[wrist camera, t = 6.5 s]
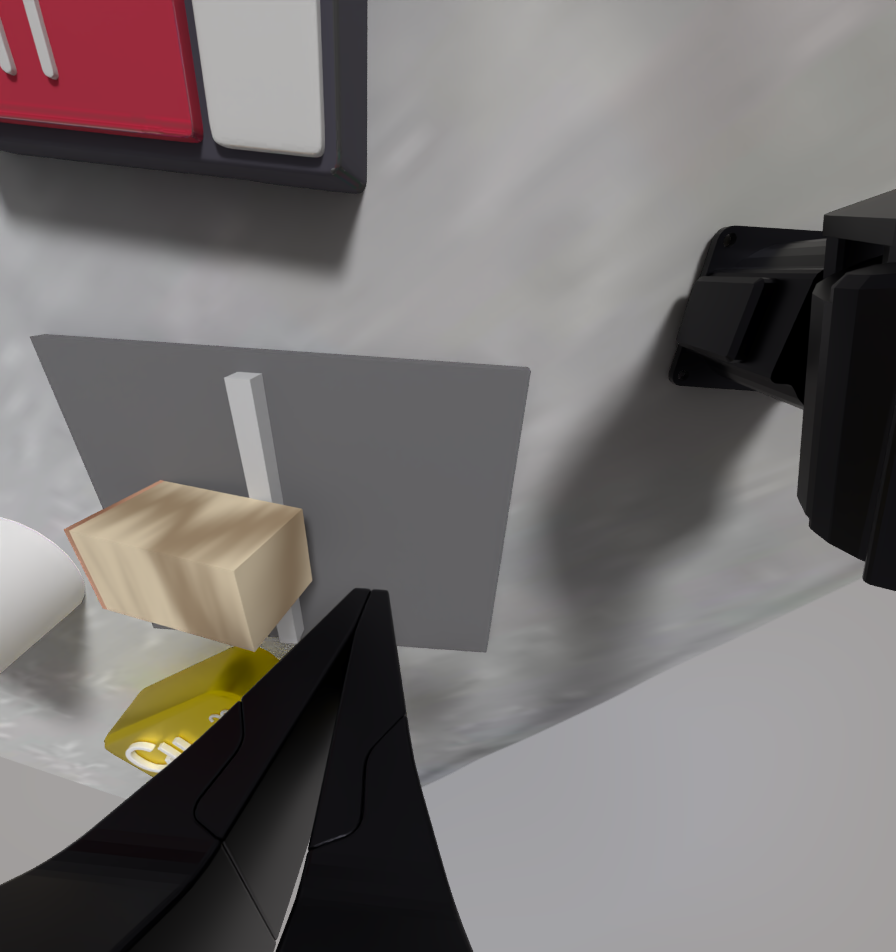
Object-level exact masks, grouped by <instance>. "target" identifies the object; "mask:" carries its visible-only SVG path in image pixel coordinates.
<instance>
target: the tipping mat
mask: <svg viewBox="0 0 896 952" xmlns="http://www.w3.org/2000/svg"><path fill="white" fill-rule="evenodd" d="M30 338H31V341H32V343H33V345H34V348H35V350H36V352H37V355H38V357H39V360H40V362H41V364H42V367H43V369H44V371H45V374H46V376H47V378H48V381H49V383H50V385H51V388H52V390H53V392H54V395H55V397H56V399H57V402H58V404H59V406H60V409H61V411H62V414H63V416H64V418H65V421H66V423H67V425H68V428H69V430H70V432H71V435H72V437H73V439H74V442H75V444H76V446H77V449H78V451H79V453H80V456H81V458H82V460H83V463H84V465H85V468H86V470H87V472H88V475H89V477H90V479H91V482H92V484H93V486H94V489H95V491H96V493H97V496H98V498H99V500H100V503H101V505H102V507H103V509H105V508H107V507H109V506H111V505H113V504H115V503H117V502H118V501H120V500H122V499H124V498H126V497H128V496H130V495H132V494H134V493H136V492H138V491H140V490H142V489H144V488H146V487H148V486H150V485H152V484H154V483H156V482H158V481H160V480H162V481H167V482H172V483H177V484H182V485H187V486H192V487H197V488H202V489H207V490H212V491H217V492H222V493H227V494H232V495H237V496H242V497H247V498H252V499H256V500H261V501H266V502H271V503H276V504H281V505H286V506H291V507H296V508H301V509H302V510H303V517H304V524H305V531H306V538H307V546H308V553H309V560H310V567H311V574H312V582H311V583H310V584H309V585H308V587H307V588H306V589H305V590H304V592H303V593H302V594H301V595H300V597H299V598H298V599H297V600H296V602H295V603H294V604H293V605H292V607H291V608H290V609H289V610H288V611H287V613H286V614H285V615H284V616H283V618H282V619H281V620H280V621H279V623H278V624H277V625H276V626H275V628H274V629H273V630H272V631H271V633H270V634H269V635H268V636H269V637H279V640H280V643H291V644H297V643H298V642H299V640H300V639H302V638H303V637H304V636H305V635H306V634H307V633H308V632H309V631H310V630H311V629H313V628H314V627H315V626H316V625H317V624H318V623H319V622H320V621H321V620H322V619H323V618H324V617H325V616H326V615H327V614H328V613H329V612H330V611H331V610H332V609H333V608H334V607H335V606H336V605H337V604H338V603H339V602H340V601H341V600H342V599H343V598H344V597H345V596H346V595H347V594H348V593H349V592H350V591H352V590H353V589H354V588H368V589H370V590H371V591H372V590H373V589H381V590H387V591H388V592H389V597H390V604H391V610H392V617H393V624H394V631H395V638H396V645H397V646H405V647H418V648H432V649H446V650H459V651H473V652H486V651H487V645H488V639H489V632H490V626H491V620H492V613H493V607H494V601H495V594H496V588H497V582H498V575H499V569H500V563H501V556H502V550H503V544H504V537H505V531H506V525H507V518H508V512H509V506H510V500H511V493H512V487H513V481H514V474H515V468H516V462H517V455H518V449H519V443H520V436H521V430H522V424H523V417H524V411H525V405H526V398H527V392H528V386H529V379H530V373H531V371H530V369H529V368H528V367H516V366H501V365H486V364H472V363H457V362H443V361H428V360H414V359H399V358H384V357H370V356H355V355H341V354H326V353H311V352H297V351H282V350H268V349H253V348H239V347H224V346H209V345H195V344H180V343H166V342H151V341H137V340H122V339H107V338H93V337H78V336H64V335H49V334H44V335H38V336H31V337H30ZM152 625H153V627H154V628H160V629H173V628H170V627H166V626H163V625H159V624H156V623H152ZM173 630H177V629H173Z"/></svg>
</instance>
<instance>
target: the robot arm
mask: <svg viewBox="0 0 896 952" xmlns="http://www.w3.org/2000/svg"><path fill="white" fill-rule="evenodd" d="M728 234H729V235H730V237H731V240H730V243H729V244H728V245H727V246H726V247H725V246H724V244H723V240H724V238H725V236H726V235H728ZM677 342H678V347H677V350H676V353H675V356H674V359H673V362H672V365H671V368H670V371H669V379H670V381H671V382H672V383H674V384H676V385H679V386H691V387H706V388H720V389H735V390H750V391H759V392H761V393H763V394H766V395H768V396H771V397H773V398H776V399H778V400H781V401H783V402H785V403H788V404H790V405H793V406H795V407H798V408H800V409H803V422H802V436H801V449H800V462H799V476H798V489H797V497H798V499H799V502H800V504H801V506H802V508H803V510H804V512H805V514H806V515H807V516H808V517H809V527H810V529H811V530H813V531H814V532H815V533H816V534H818V535H819V536H820V537H821V538H823V539H824V540H825V541H827V542H828V543H829V544H831V545H833V546H835V547H837V548H839V549H841V550H843V551H845V552H846V553H848V554H850V555H852V556H854V557H856V558H858V559H860V560H862V561H865V566H864V571H863V580H864V581H865V582H866V583H868V584H870V585H874V586H877V587H882V588H885V589H889V590H893V591H896V189H894V190H892V191H889V192H886V193H883V194H880V195H877V196H875V197H872V198H869V199H866V200H863V201H860V202H858V203H855V204H852V205H849V206H846V207H843V208H841V209H838V210H835V211H832V212H829V213H827V214H825V215H824V222H823V231H809V230H794V229H779V228H763V227H748V226H729V227H724V228H722V229H720V230H719V231H718V232H717V233H716V234H715V235H714V237H713V239H712V242H711V245H710V248H709V251H708V254H707V257H706V260H705V263H704V267H703V270H702V273H701V276H700V278H699V279H698V280H697V281H695V283H694V286H693V289H692V292H691V295H690V298H689V301H688V305H687V308H686V311H685V314H684V317H683V320H682V323H681V326H680V330H679V333H678V336H677ZM682 370H685V374H684V376H683V377H681V378H679V379H678V374H679V373H680V372H681V371H682ZM310 836H311V837H310ZM309 840H310V842H309ZM308 843H309V847H308V851H309V852H308V853H307V856H306V861H305V865H304V869H303V873H302V877H301V881H300V885H299V888H298V892H297V895H296V899H295V902H294V904H293V907H292V910H291V913H290V915H289V918H288V920H287V923H286V926H285V929H284V931H283V934H282V936H281V939H280V942H279V944H278V947H277V949H276V952H473V950H472V947H471V945H470V942H469V940H468V937H467V935H466V933H465V930H464V927H463V925H462V922H461V919H460V916H459V913H458V911H457V908H456V905H455V902H454V899H453V896H452V893H451V890H450V887H449V884H448V880H447V877H446V873H445V870H444V866H443V863H442V859H441V856H440V852H439V849H438V845H437V842H436V838H435V835H434V831H433V828H432V824H431V821H430V817H429V814H428V810H427V807H426V803H425V799H424V796H423V792H422V788H421V784H420V780H419V776H418V772H417V768H416V765H415V760H414V755H413V749H412V744H411V738H410V732H409V725H408V718H407V713H406V706H405V699H404V692H403V686H402V679H401V672H400V665H399V658H398V651H397V645H396V638H395V631H394V624H393V617H392V610H391V604H390V597H389V592H388V591H387V590H381V589H373V590H372V591H371V590H370V589H368V588H354V589H353V590H352V591H350V592H349V593H348V594H347V595H346V596H345V597H344V598H343V599H342V600H341V601H340V602H339V603H338V604H337V605H336V606H335V607H334V608H333V609H332V610H331V611H330V612H329V613H328V614H327V615H326V616H325V617H324V618H323V619H322V620H321V621H320V622H319V623H318V624H317V625H316V626H315V627H314V628H313V629H311V630H310V631H309V632H308V633H307V634H306V635H305V636H304V637H303V638H302V639H301V640H300V641H299V642H298V643H297V644H296V645H295V646H294V647H293V648H292V649H291V650H290V651H289V652H288V653H287V654H286V655H285V656H284V657H283V658H282V659H281V660H280V661H279V662H278V663H277V664H276V665H275V666H274V667H273V668H271V669H270V670H269V671H268V672H267V673H266V674H265V675H264V676H263V677H262V678H261V679H260V680H259V681H258V682H257V683H256V684H255V685H254V686H253V687H252V688H251V689H250V690H249V691H248V692H247V693H246V694H245V695H244V696H243V697H242V698H241V701H237V702H236V703H235V704H234V705H233V706H232V707H231V708H230V709H229V710H228V711H227V712H226V713H225V714H224V715H223V716H222V717H221V718H220V719H219V720H218V721H217V722H216V723H214V724H213V725H212V726H211V727H210V728H209V729H208V730H207V731H206V732H205V733H204V734H203V735H202V736H201V737H200V738H198V739H197V740H196V741H195V742H194V743H193V744H192V745H190V746H189V747H188V748H187V749H186V750H185V751H183V752H182V753H181V754H180V755H179V756H178V757H177V758H175V759H174V760H173V761H172V762H171V763H170V764H168V765H167V766H166V767H165V768H164V769H162V770H161V771H160V772H159V773H158V774H156V775H155V776H154V777H153V778H152V779H150V780H149V781H148V782H147V783H146V784H144V785H143V786H142V787H141V788H140V789H138V790H137V791H136V792H135V793H134V794H132V795H131V796H130V797H129V798H128V799H126V800H125V801H124V802H123V803H122V804H120V805H119V806H118V807H117V808H116V809H115V810H113V811H112V812H111V813H110V814H109V815H107V816H106V817H105V818H104V819H102V820H101V821H100V822H99V823H98V824H96V825H95V826H94V827H93V828H92V829H90V830H89V831H88V832H87V833H85V834H84V835H83V836H82V837H80V838H79V839H78V840H76V841H75V842H73V843H72V844H71V845H70V846H68V847H67V848H65V849H64V850H62V851H61V852H59V853H58V854H56V855H55V856H53V857H52V858H50V859H48V860H47V861H45V862H43V863H42V864H40V865H39V866H37V867H35V868H33V869H31V870H29V871H28V872H26V873H24V874H22V875H20V876H17V877H15V878H14V879H11V880H9V881H7V882H5V883H3V884H1V885H0V952H273V951H274V948H275V945H276V942H275V940H276V939H277V938H278V935H279V932H280V929H281V926H282V923H283V920H284V917H285V913H286V911H287V907H288V904H289V901H290V898H291V895H292V892H293V889H294V886H295V883H296V880H297V877H298V874H299V870H300V867H301V864H302V861H303V858H304V855H305V852H306V849H307V846H308Z"/></svg>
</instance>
